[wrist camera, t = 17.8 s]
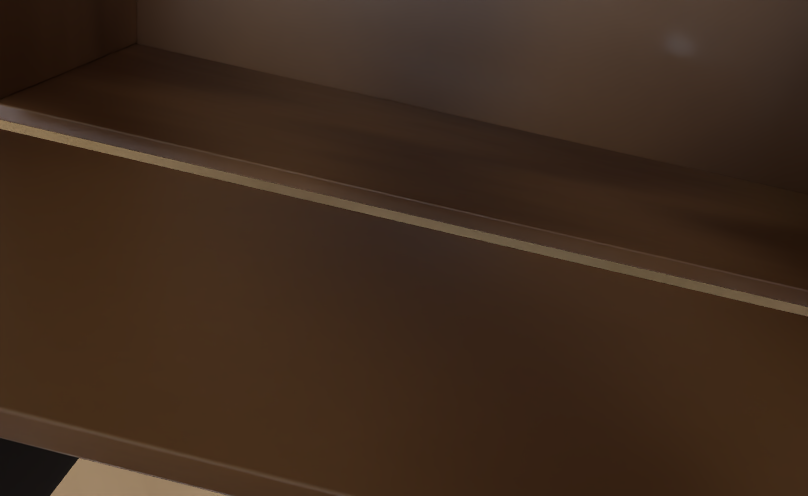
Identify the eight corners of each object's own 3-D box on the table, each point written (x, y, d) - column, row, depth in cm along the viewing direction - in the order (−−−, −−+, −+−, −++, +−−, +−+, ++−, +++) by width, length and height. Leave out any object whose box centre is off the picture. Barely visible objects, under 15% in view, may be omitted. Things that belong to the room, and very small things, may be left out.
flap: (1564, 800, 5) (1530, 825, 5) (994, 359, 11) (983, 376, 11) (-591, 260, 6) (-580, 293, 6) (-45, 117, 11) (-44, 135, 11)
